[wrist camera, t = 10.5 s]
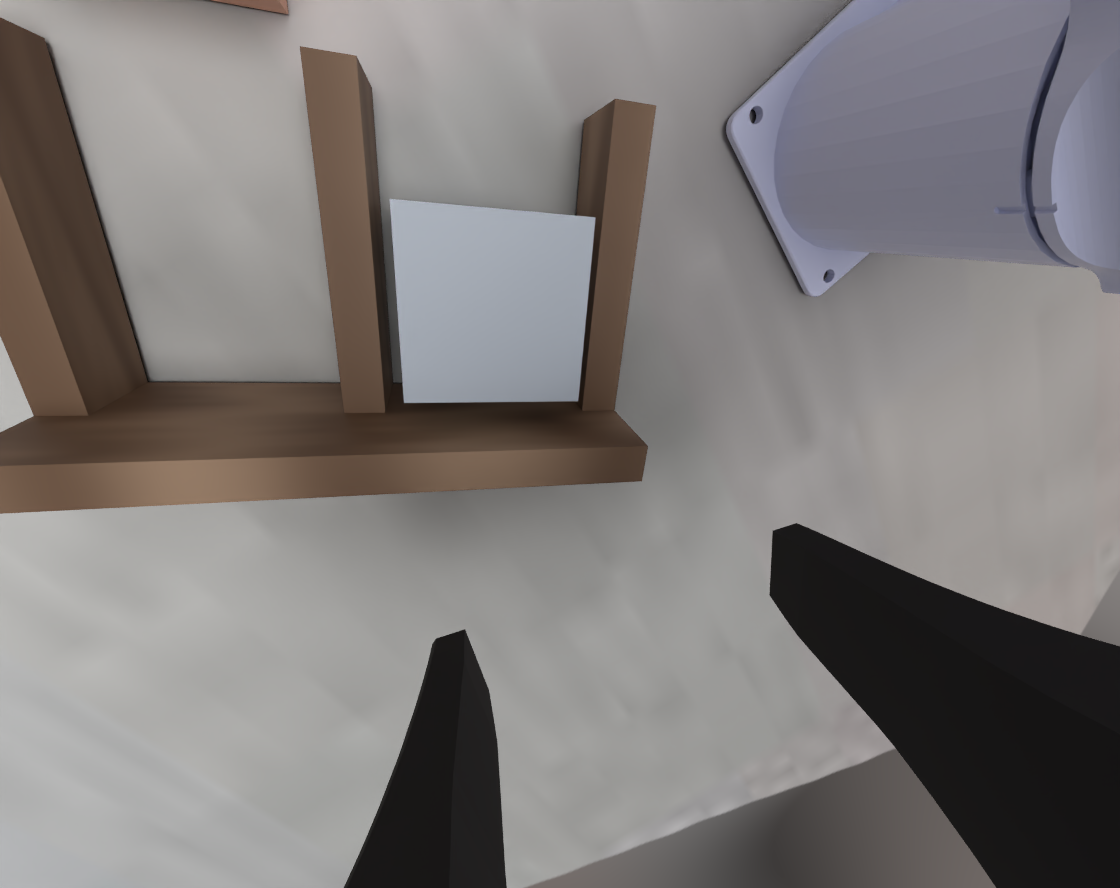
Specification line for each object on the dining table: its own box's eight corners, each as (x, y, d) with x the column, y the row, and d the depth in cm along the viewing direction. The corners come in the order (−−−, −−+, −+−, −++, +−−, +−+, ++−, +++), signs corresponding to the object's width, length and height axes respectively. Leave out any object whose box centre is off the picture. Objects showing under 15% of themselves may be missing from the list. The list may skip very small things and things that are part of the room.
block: (552, 218, 16) (595, 217, 12) (544, 358, 18) (578, 401, 14) (403, 205, 15) (389, 198, 11) (412, 356, 17) (404, 403, 13)
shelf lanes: (618, 125, 15) (712, 75, 10) (586, 411, 20) (641, 480, 14) (-17, 28, 11) (-407, -137, 6) (115, 416, 16) (-48, 515, 10)
